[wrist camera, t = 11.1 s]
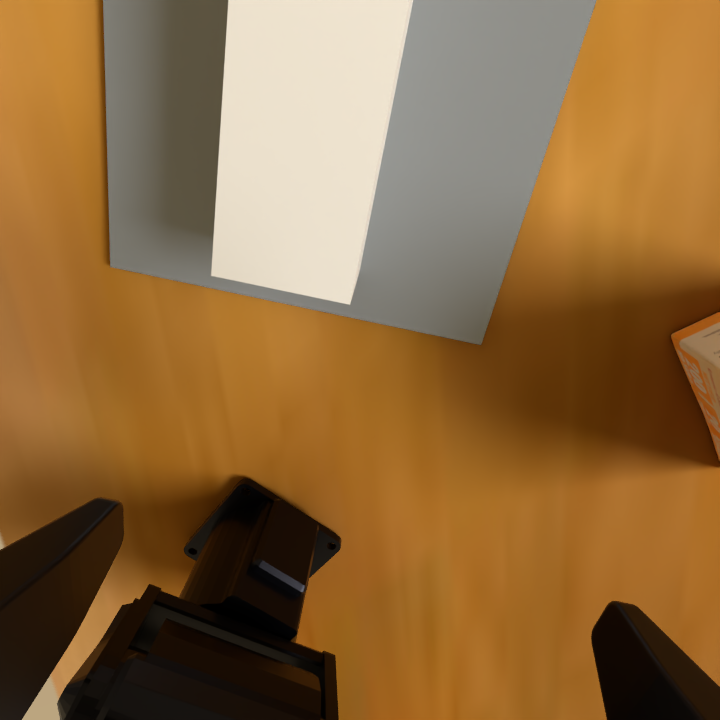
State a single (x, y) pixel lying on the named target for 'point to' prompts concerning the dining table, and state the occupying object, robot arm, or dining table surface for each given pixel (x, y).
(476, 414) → the dining table surface
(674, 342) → the supplement box
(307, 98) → the block
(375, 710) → the dining table surface
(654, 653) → the robot arm
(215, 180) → the mat
